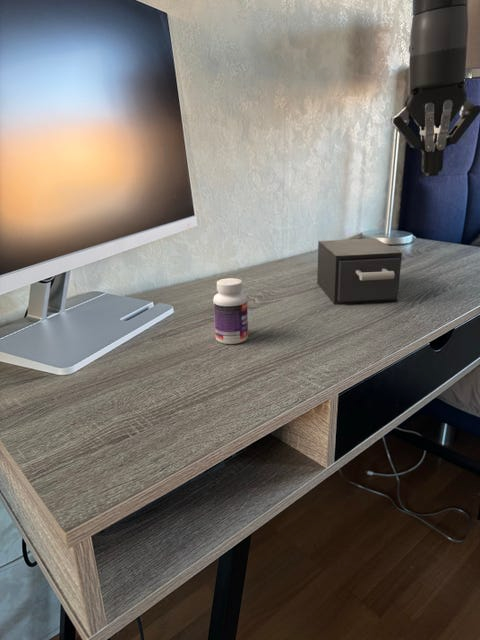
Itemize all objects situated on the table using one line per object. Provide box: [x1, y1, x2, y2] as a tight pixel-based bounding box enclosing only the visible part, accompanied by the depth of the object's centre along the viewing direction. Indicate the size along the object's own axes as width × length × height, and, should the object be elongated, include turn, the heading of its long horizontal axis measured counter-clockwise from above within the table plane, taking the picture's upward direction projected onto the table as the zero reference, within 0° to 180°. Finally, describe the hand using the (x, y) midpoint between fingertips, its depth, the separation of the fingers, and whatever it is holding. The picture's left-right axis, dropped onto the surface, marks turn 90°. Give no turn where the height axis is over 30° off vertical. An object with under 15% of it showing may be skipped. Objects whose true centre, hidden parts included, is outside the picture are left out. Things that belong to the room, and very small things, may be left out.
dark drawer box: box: [337, 257, 402, 302], centre depth 88 cm, size 18×11×8 cm, turn 4°
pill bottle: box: [212, 277, 249, 345], centre depth 71 cm, size 5×5×10 cm
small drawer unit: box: [316, 237, 403, 305], centre depth 92 cm, size 15×13×10 cm
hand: (431, 175), depth 70 cm, fingers closed
